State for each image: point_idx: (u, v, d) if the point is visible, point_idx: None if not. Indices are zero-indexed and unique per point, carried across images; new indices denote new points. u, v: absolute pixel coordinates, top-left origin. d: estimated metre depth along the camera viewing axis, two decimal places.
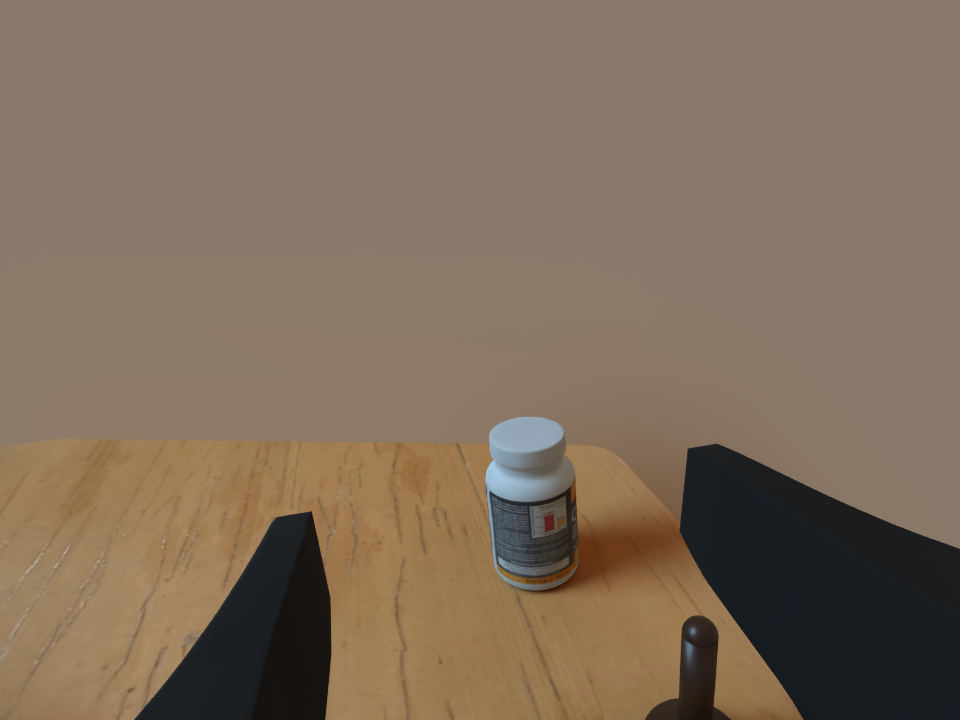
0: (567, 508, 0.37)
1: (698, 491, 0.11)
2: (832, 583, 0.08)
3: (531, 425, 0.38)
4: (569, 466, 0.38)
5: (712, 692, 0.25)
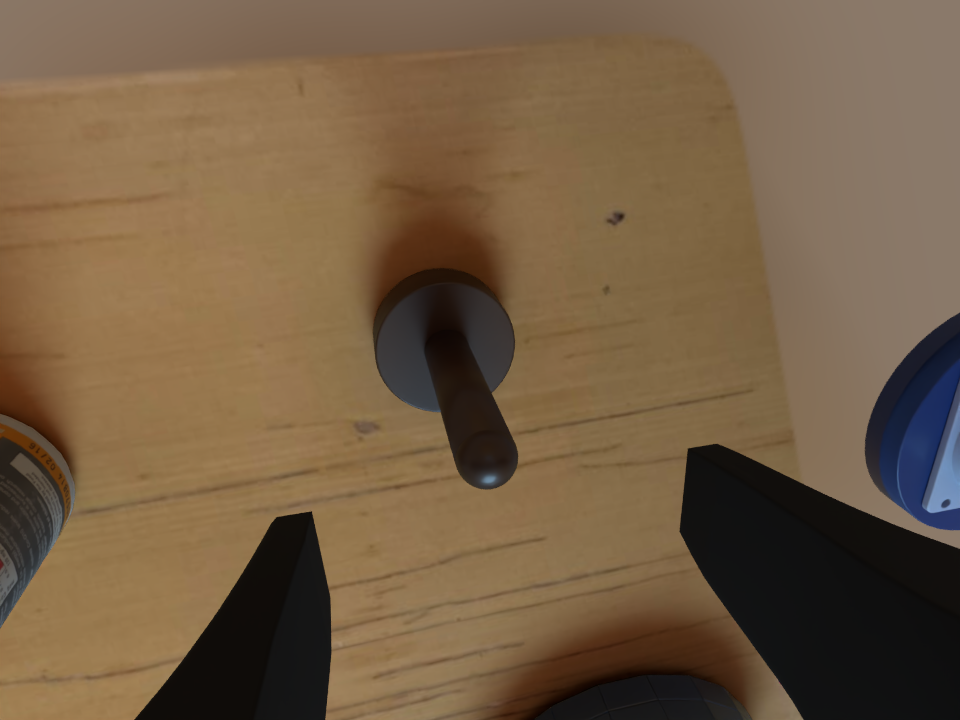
0: None
1: (698, 491, 0.11)
2: (832, 583, 0.08)
3: None
4: None
5: (488, 387, 0.16)
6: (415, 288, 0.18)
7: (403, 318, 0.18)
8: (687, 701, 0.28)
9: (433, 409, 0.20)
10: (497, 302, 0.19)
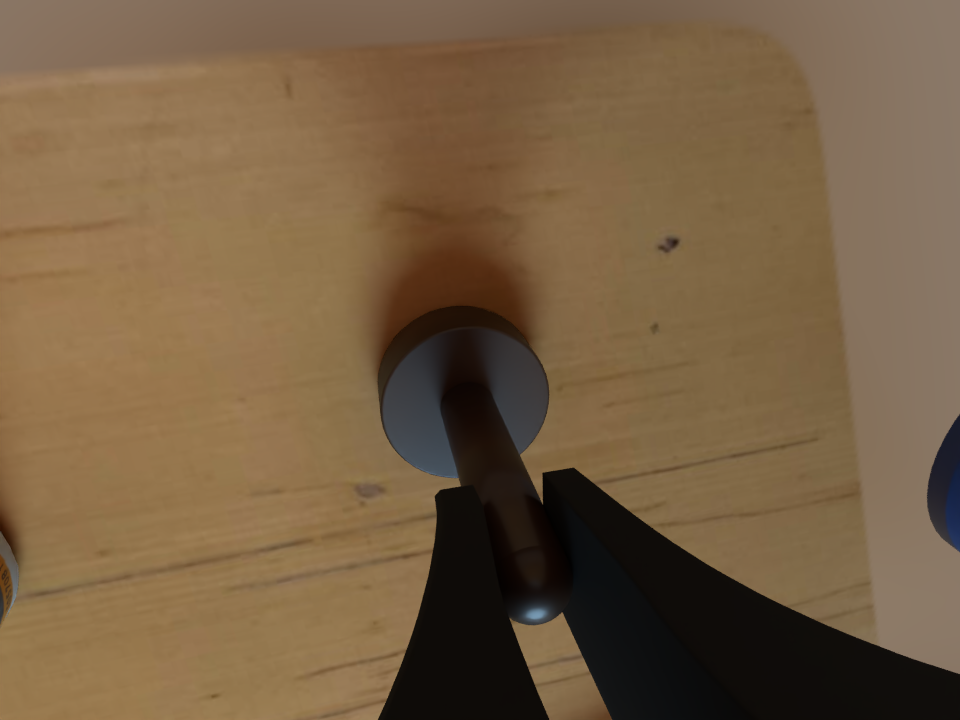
0: None
1: (550, 517, 0.11)
2: (636, 625, 0.08)
3: None
4: None
5: (525, 468, 0.12)
6: (430, 334, 0.15)
7: (415, 370, 0.15)
8: None
9: (450, 475, 0.16)
10: (529, 349, 0.15)
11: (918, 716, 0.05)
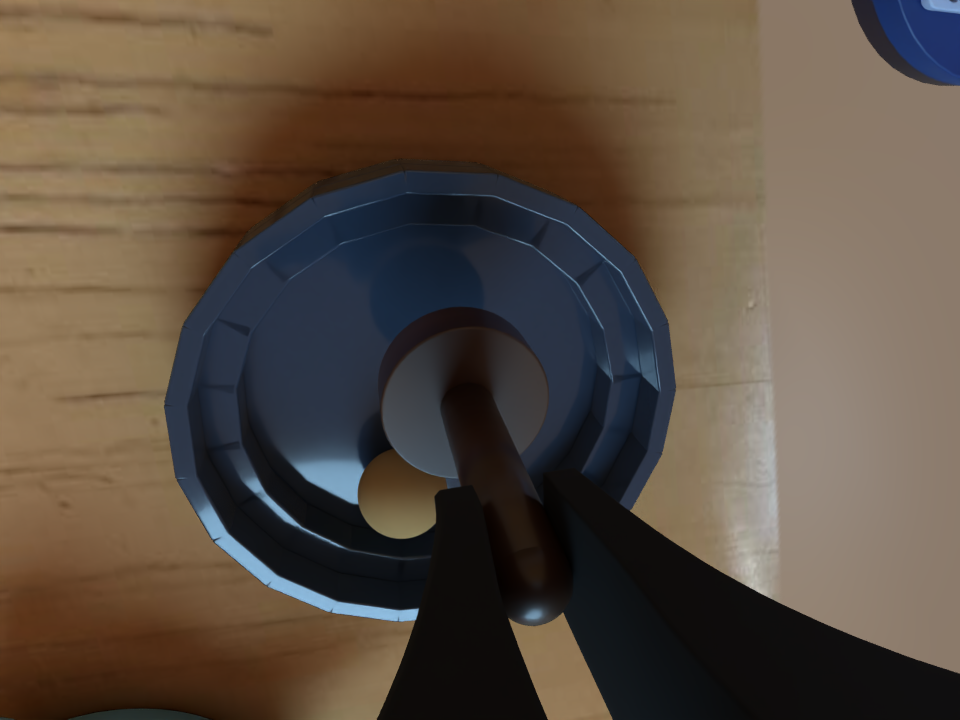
0: None
1: (551, 517, 0.11)
2: (636, 624, 0.08)
3: None
4: None
5: (525, 469, 0.12)
6: (430, 334, 0.15)
7: (415, 371, 0.15)
8: (535, 187, 0.17)
9: (450, 475, 0.16)
10: (529, 350, 0.15)
11: (919, 716, 0.05)
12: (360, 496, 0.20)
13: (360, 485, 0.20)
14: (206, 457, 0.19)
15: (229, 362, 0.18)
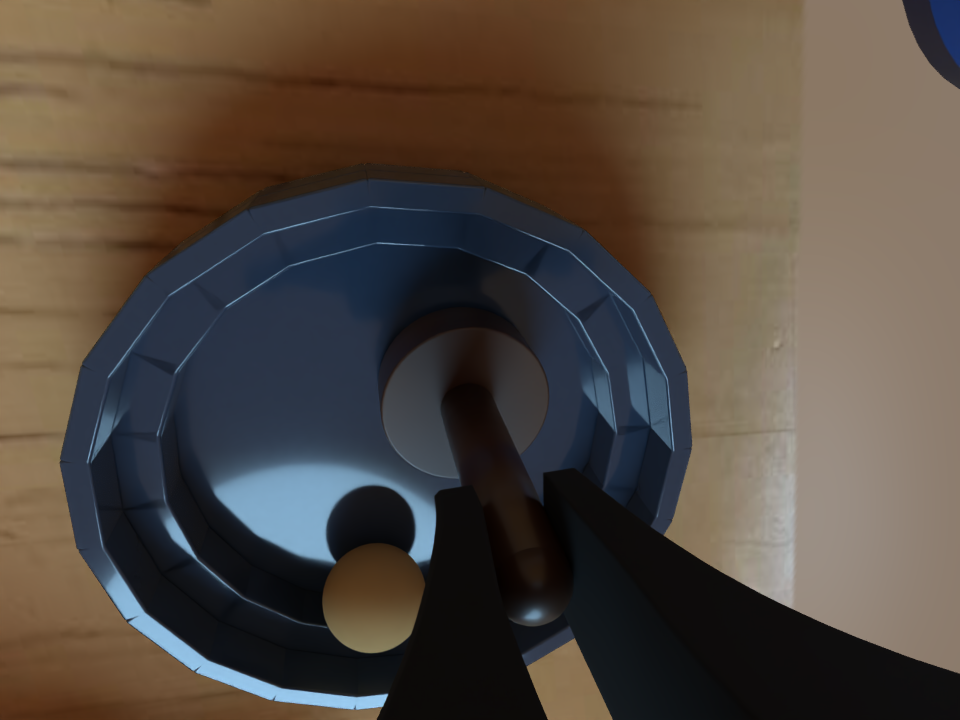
0: None
1: (551, 517, 0.11)
2: (636, 624, 0.08)
3: None
4: None
5: (525, 469, 0.12)
6: (430, 335, 0.15)
7: (415, 371, 0.15)
8: (532, 203, 0.14)
9: (450, 476, 0.16)
10: (529, 350, 0.15)
11: (919, 716, 0.05)
12: (330, 628, 0.17)
13: (329, 619, 0.17)
14: (122, 518, 0.15)
15: (150, 405, 0.14)
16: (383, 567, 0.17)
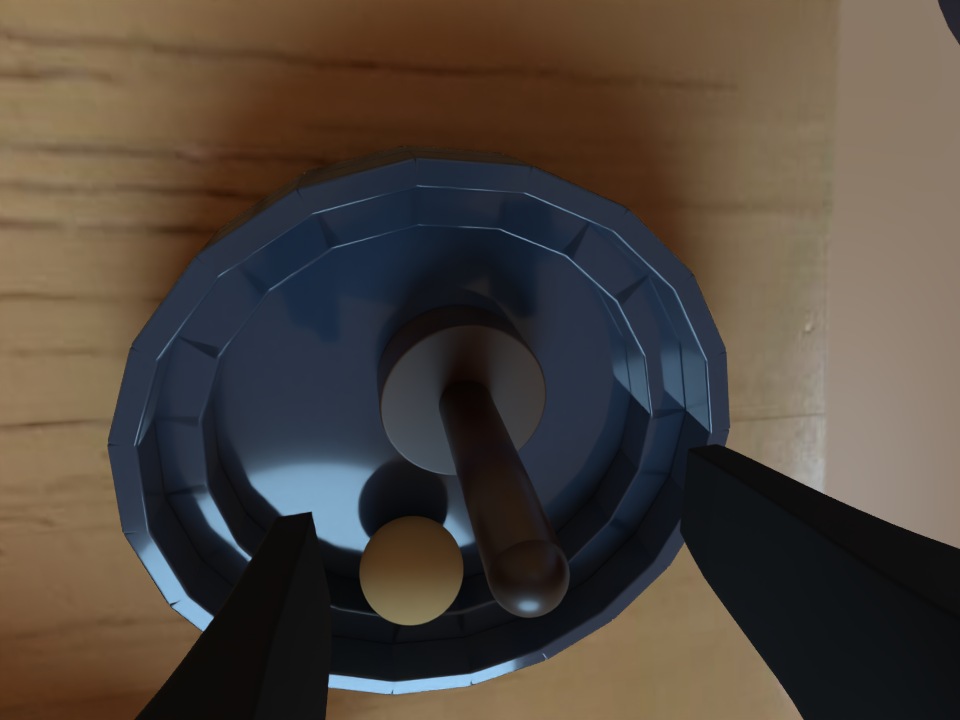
0: None
1: (698, 491, 0.11)
2: (832, 583, 0.08)
3: None
4: None
5: (522, 464, 0.13)
6: (428, 332, 0.15)
7: (414, 368, 0.15)
8: None
9: (448, 472, 0.17)
10: (526, 347, 0.15)
11: None
12: (368, 595, 0.17)
13: (368, 583, 0.17)
14: (164, 503, 0.15)
15: (193, 390, 0.14)
16: (420, 526, 0.17)
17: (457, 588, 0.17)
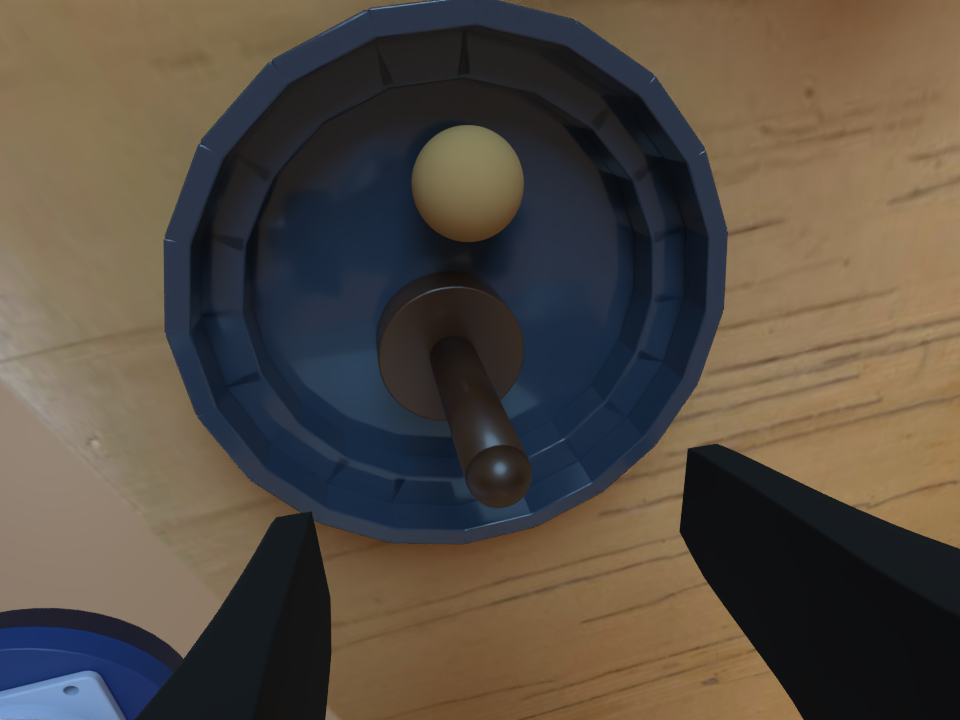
0: None
1: (698, 491, 0.11)
2: (832, 583, 0.08)
3: None
4: None
5: None
6: None
7: (501, 378, 0.19)
8: None
9: (452, 289, 0.17)
10: (413, 412, 0.19)
11: None
12: (521, 190, 0.16)
13: (521, 200, 0.16)
14: (688, 226, 0.18)
15: (655, 324, 0.19)
16: None
17: (429, 210, 0.16)
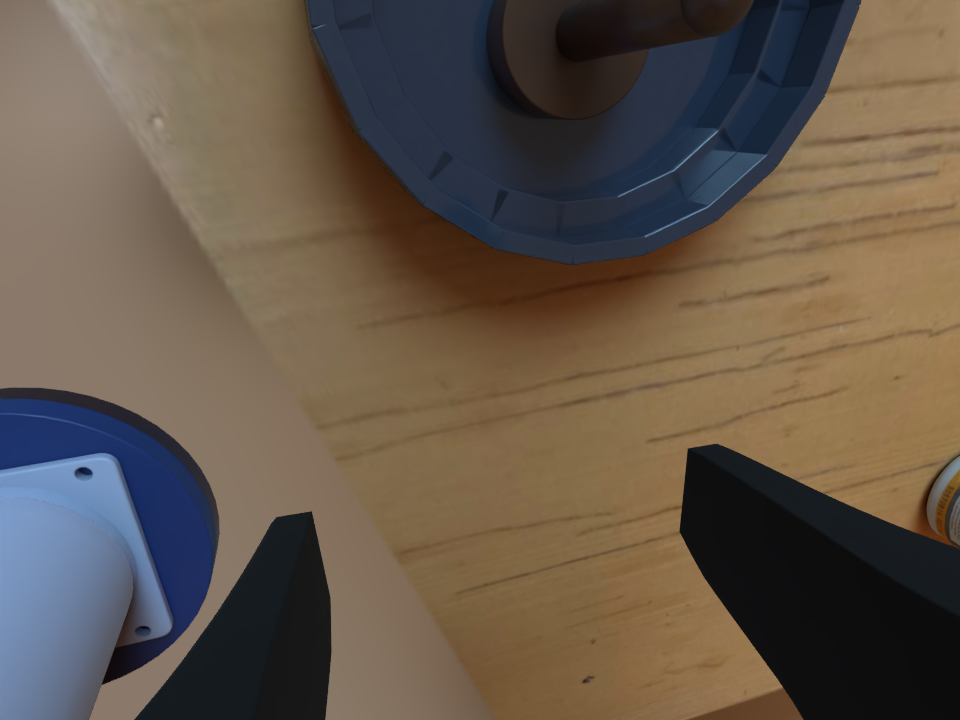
0: None
1: (698, 491, 0.11)
2: (832, 583, 0.08)
3: None
4: None
5: (620, 37, 0.13)
6: (611, 107, 0.18)
7: (624, 71, 0.17)
8: None
9: None
10: (529, 100, 0.17)
11: None
12: None
13: None
14: None
15: (779, 38, 0.18)
16: None
17: None
